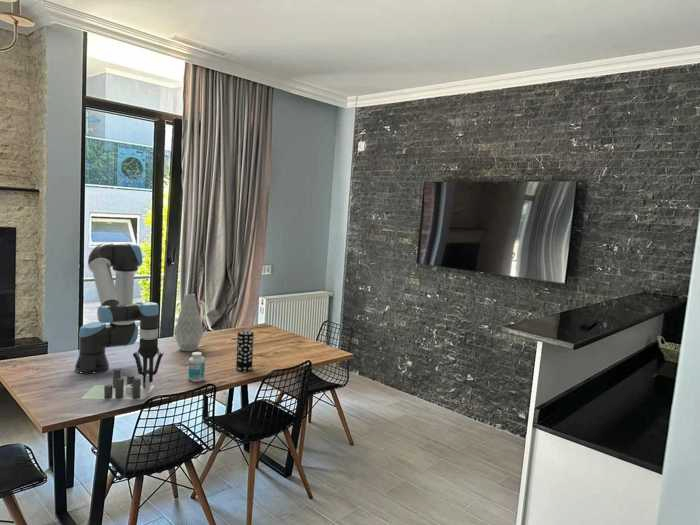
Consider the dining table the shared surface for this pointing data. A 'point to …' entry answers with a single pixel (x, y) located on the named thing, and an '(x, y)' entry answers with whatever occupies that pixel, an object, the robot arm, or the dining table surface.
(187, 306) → the vase
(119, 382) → the spacers
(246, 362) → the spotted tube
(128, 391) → the nut
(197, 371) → the pill bottle
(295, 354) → the dining table surface
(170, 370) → the dining table surface
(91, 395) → the board
